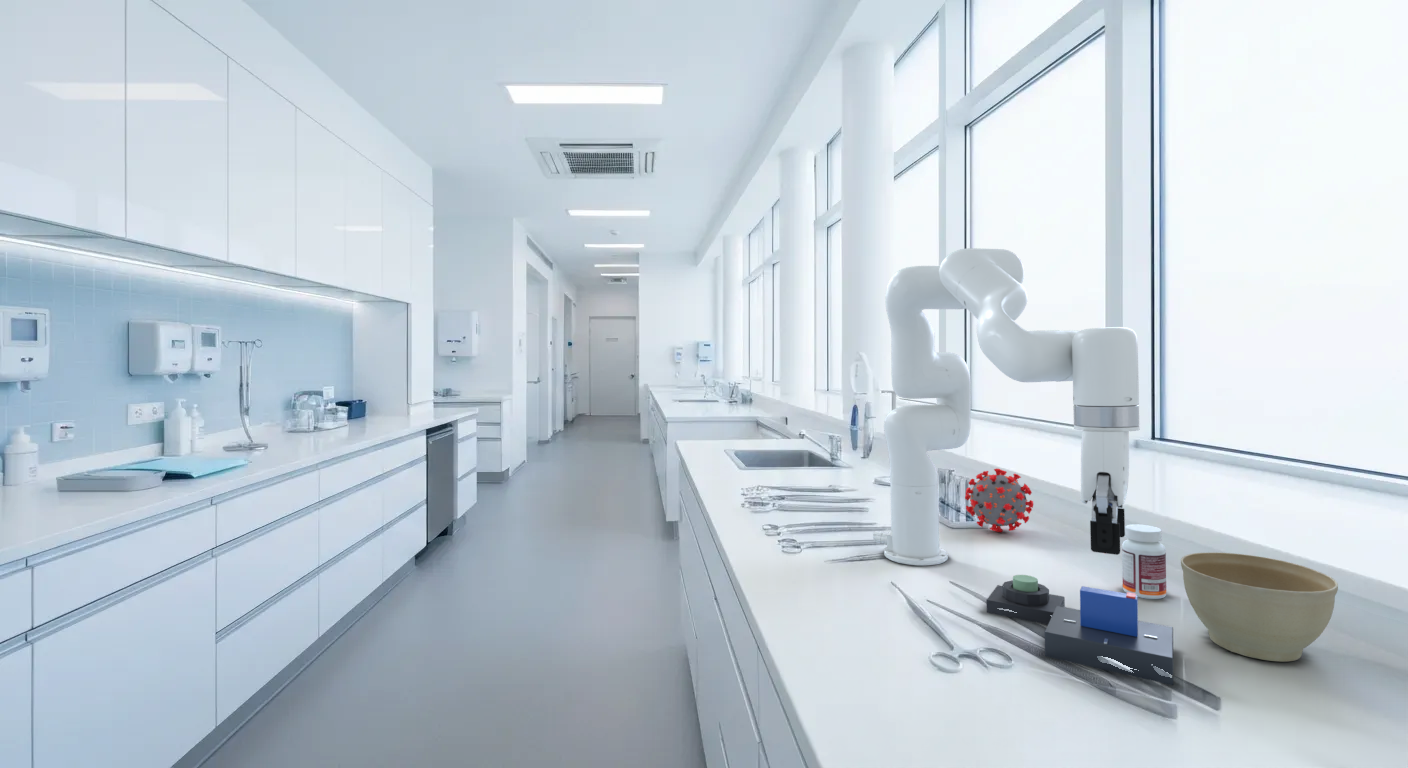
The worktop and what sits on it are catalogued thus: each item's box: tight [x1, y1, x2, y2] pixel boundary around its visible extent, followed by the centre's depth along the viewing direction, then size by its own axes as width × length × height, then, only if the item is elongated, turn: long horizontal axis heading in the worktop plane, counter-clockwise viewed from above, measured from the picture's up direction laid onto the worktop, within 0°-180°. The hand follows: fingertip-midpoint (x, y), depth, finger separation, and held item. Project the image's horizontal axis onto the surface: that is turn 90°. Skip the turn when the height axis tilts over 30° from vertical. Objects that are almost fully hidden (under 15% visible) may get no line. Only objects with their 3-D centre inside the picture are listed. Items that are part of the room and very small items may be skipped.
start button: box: [1012, 574, 1039, 592], centre depth 100 cm, size 4×4×2 cm
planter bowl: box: [1180, 551, 1339, 663], centre depth 86 cm, size 16×16×11 cm
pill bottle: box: [1121, 523, 1167, 600], centre depth 106 cm, size 6×6×11 cm
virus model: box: [964, 468, 1034, 533], centre depth 147 cm, size 14×15×15 cm
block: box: [985, 579, 1066, 626], centre depth 100 cm, size 10×8×4 cm
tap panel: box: [1044, 606, 1174, 686], centre depth 85 cm, size 14×11×4 cm
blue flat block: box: [1079, 585, 1139, 637], centre depth 85 cm, size 6×2×5 cm, turn 53°
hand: (1108, 543), depth 85 cm, fingers open, 9 cm apart
